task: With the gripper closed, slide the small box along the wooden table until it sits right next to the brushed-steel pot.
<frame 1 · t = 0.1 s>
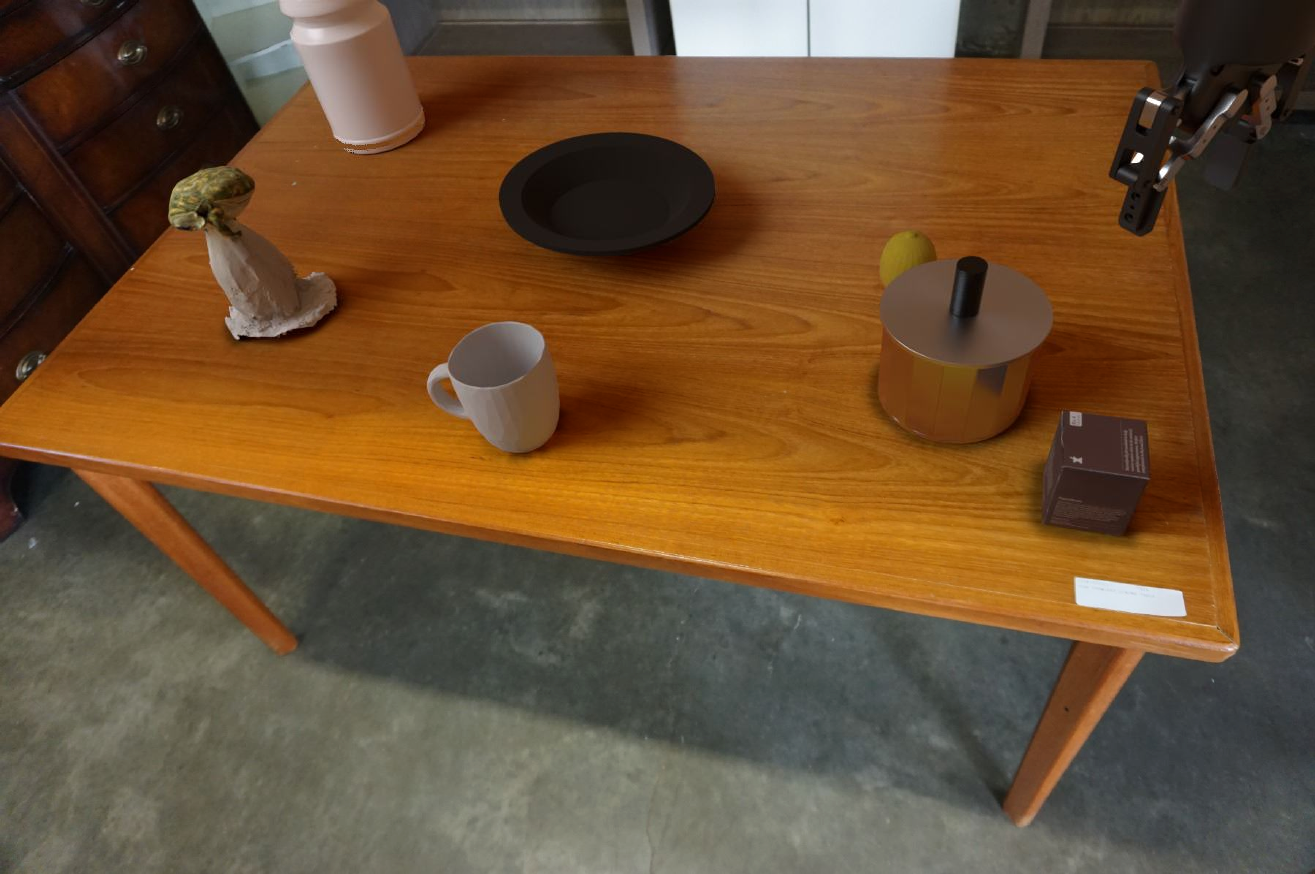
hand: (1177, 206, 59), 21 cm above the table, tool pointing down, fingers open, 8 cm apart
pot lid: (963, 312, 70), point 9 cm above the table, touching pot
plate: (612, 228, 103), on the table
mushroom: (286, 312, 100), on the table
mug: (506, 429, 82), on the table
pot: (948, 392, 77), on the table
lemon: (904, 298, 87), on the table
bottle: (383, 133, 128), on the table
box: (1080, 503, 68), on the table
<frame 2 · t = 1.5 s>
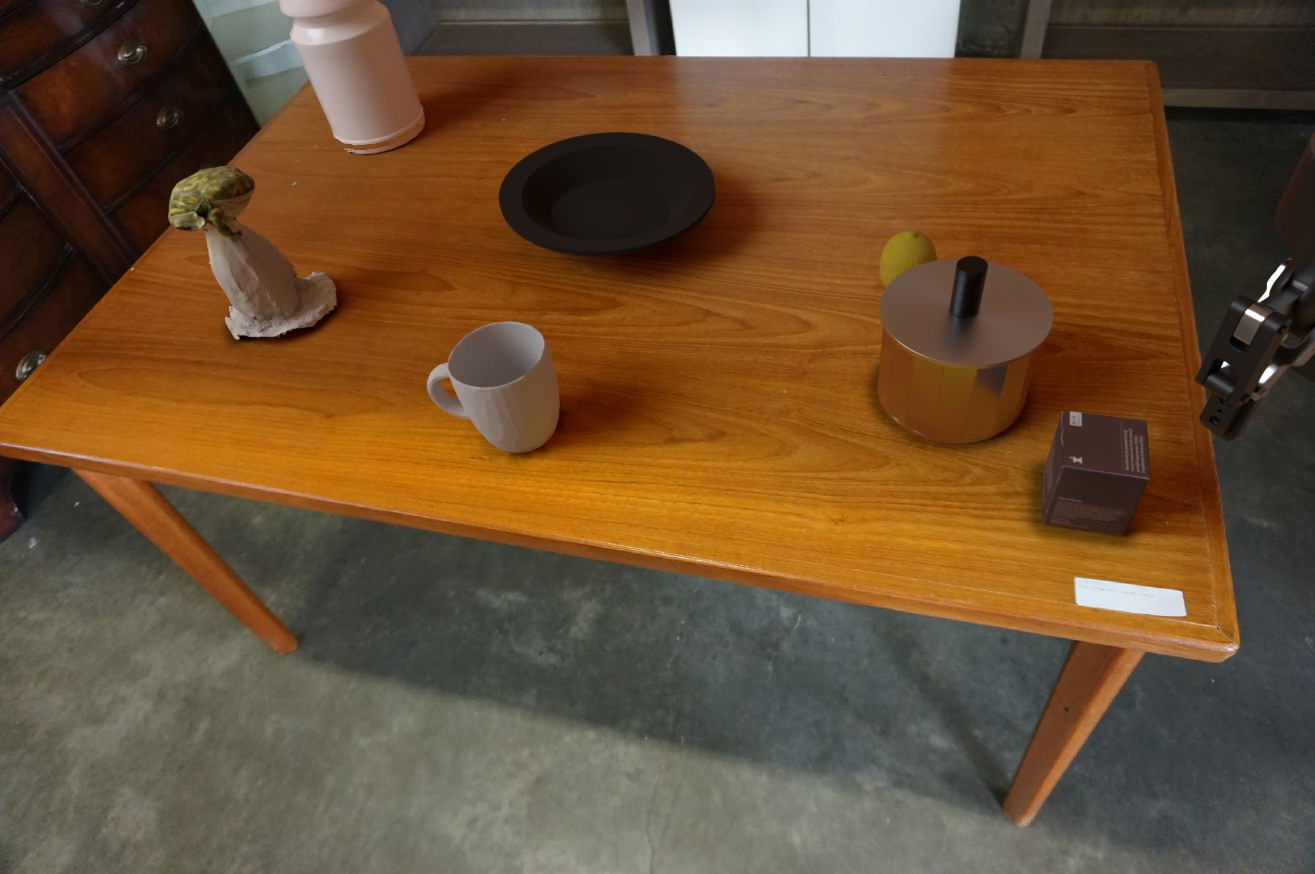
hand: (1263, 400, 50), 18 cm above the table, tool pointing down, fingers open, 7 cm apart
nothing on the table moved.
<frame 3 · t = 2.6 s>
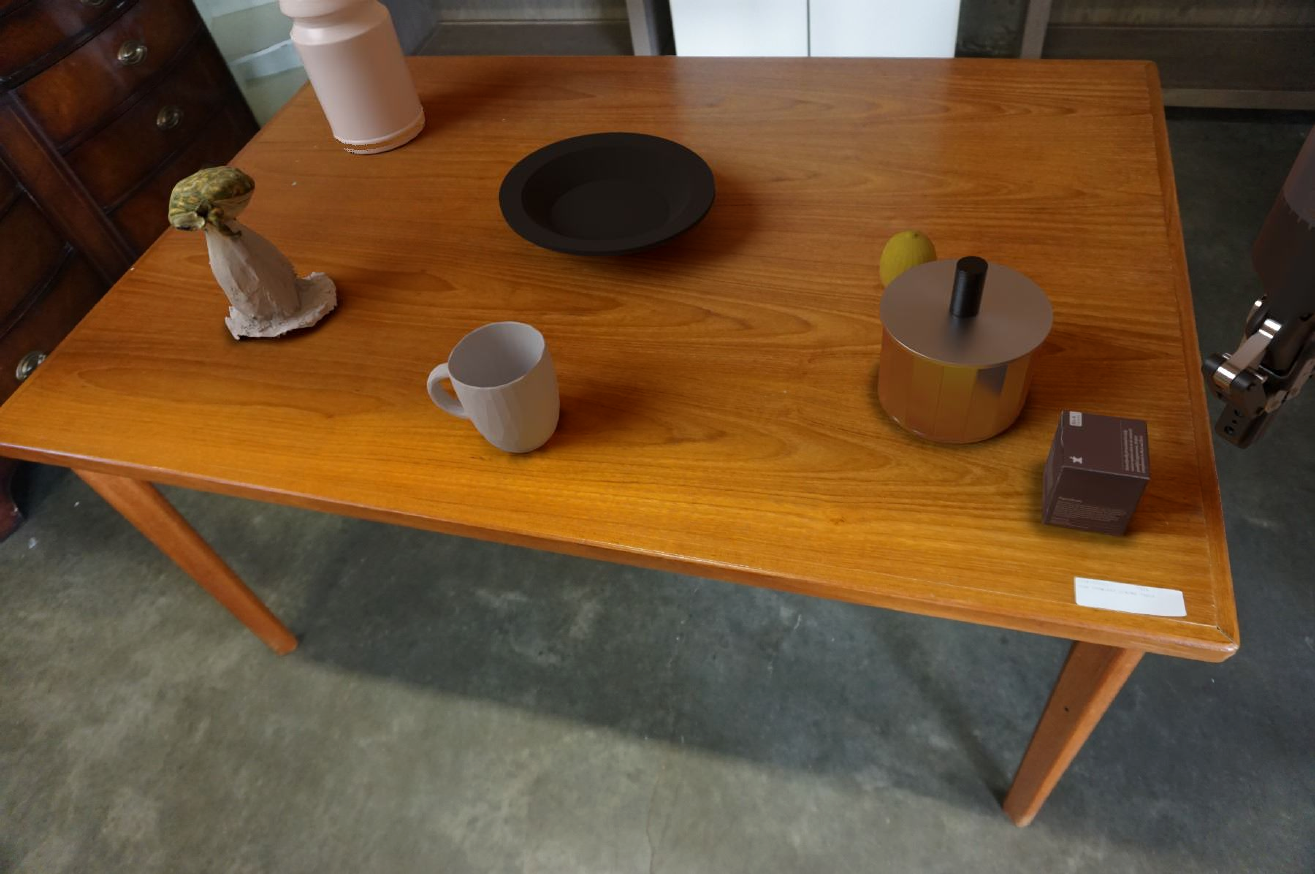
hand: (1236, 435, 52), 15 cm above the table, tool pointing down, fingers closed
nothing on the table moved.
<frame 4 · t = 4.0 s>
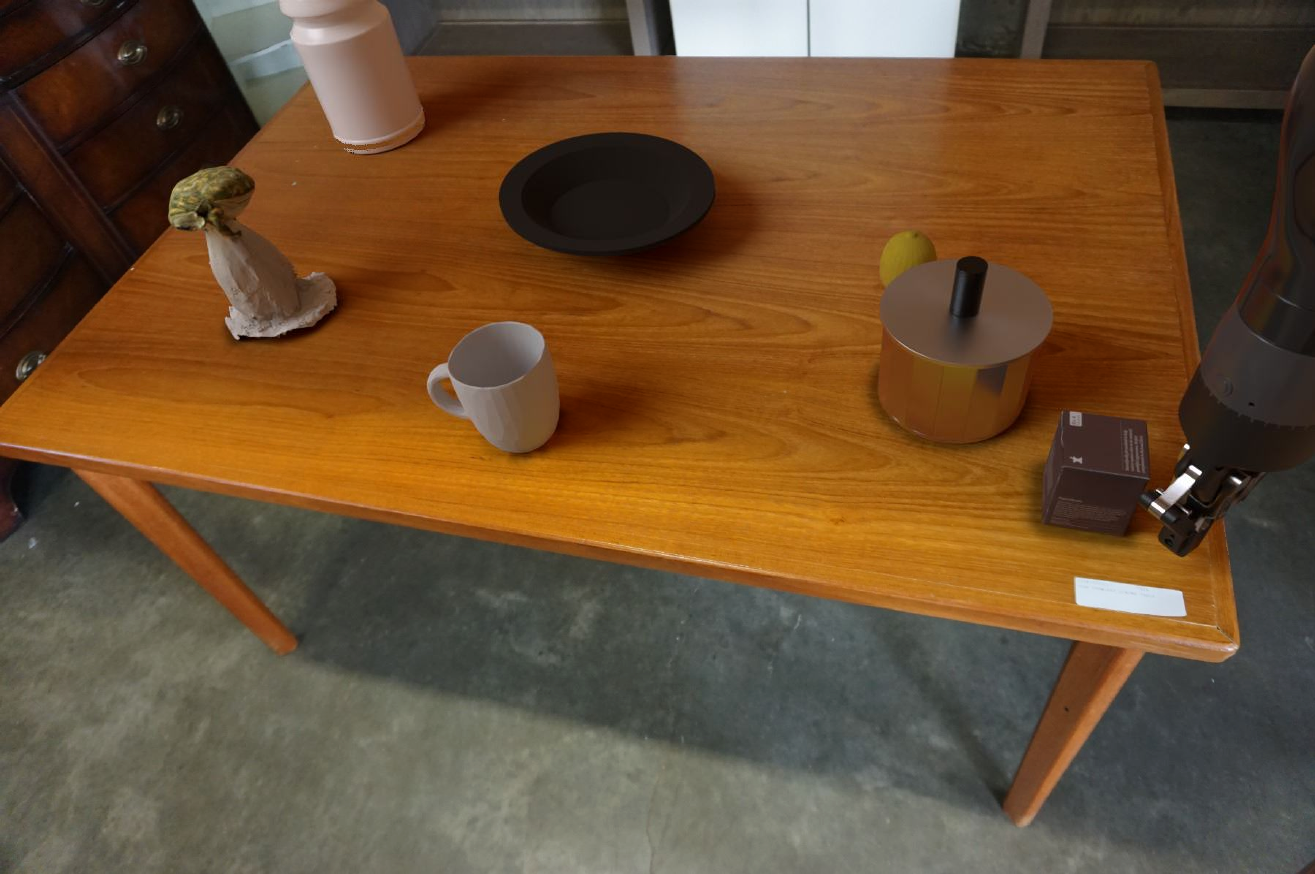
hand: (1176, 544, 61), 3 cm above the table, tool pointing down, fingers closed
nothing on the table moved.
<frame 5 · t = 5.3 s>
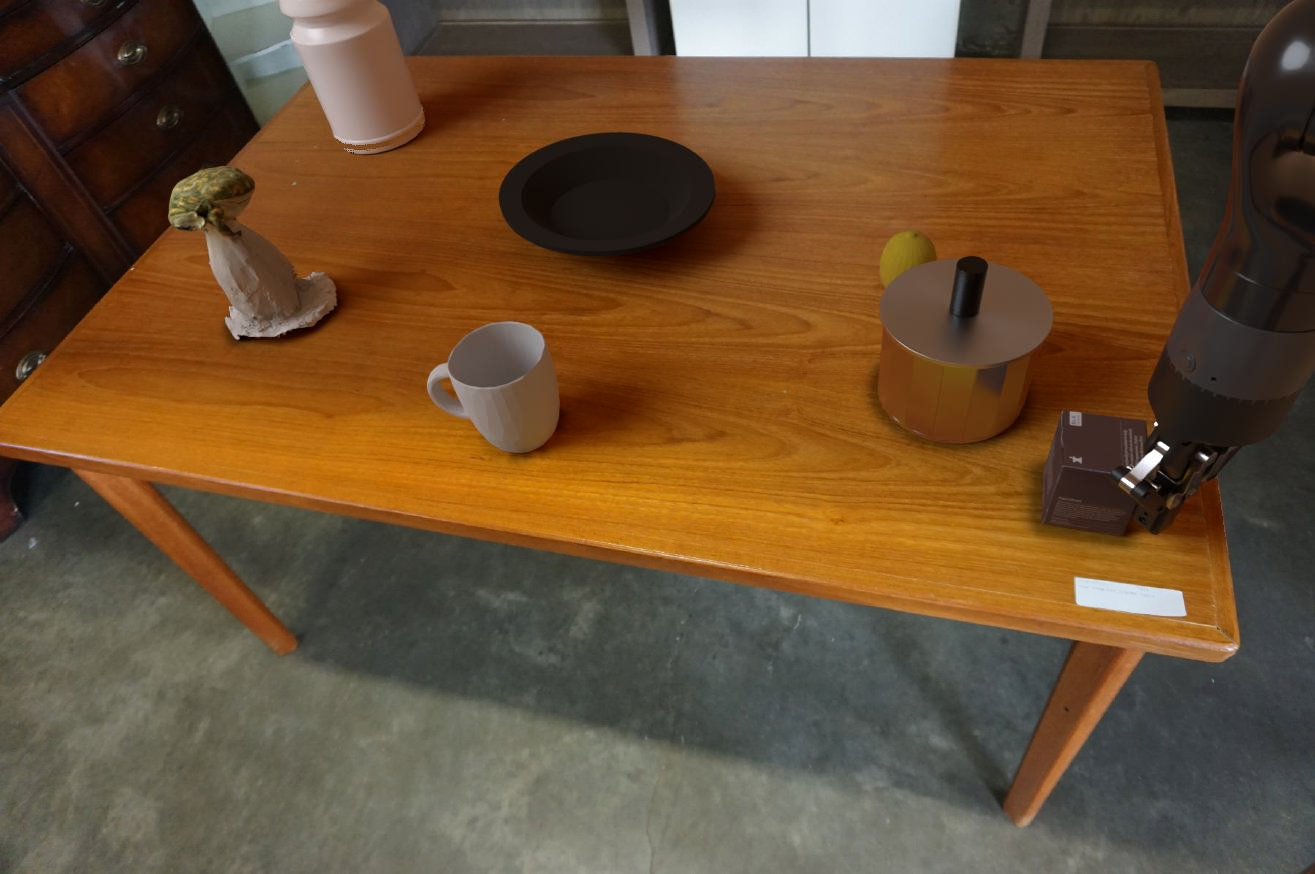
hand: (1150, 522, 63), 3 cm above the table, tool pointing down, fingers closed
box: (1080, 503, 68), on the table, touching gripper
everything else where it was.
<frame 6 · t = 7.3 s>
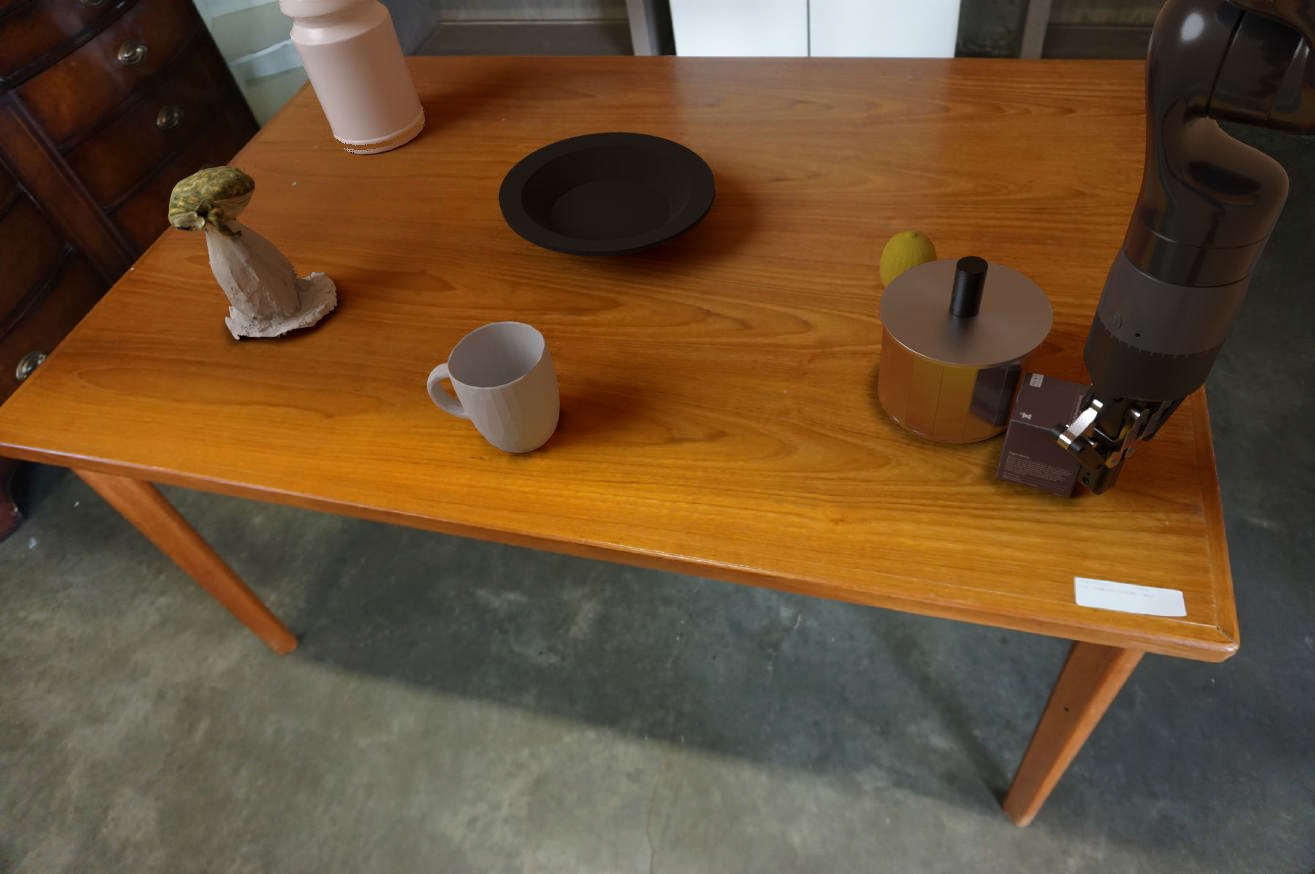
hand: (1094, 484, 66), 3 cm above the table, tool pointing down, fingers closed
box: (1038, 465, 71), on the table, touching gripper
everything else where it was.
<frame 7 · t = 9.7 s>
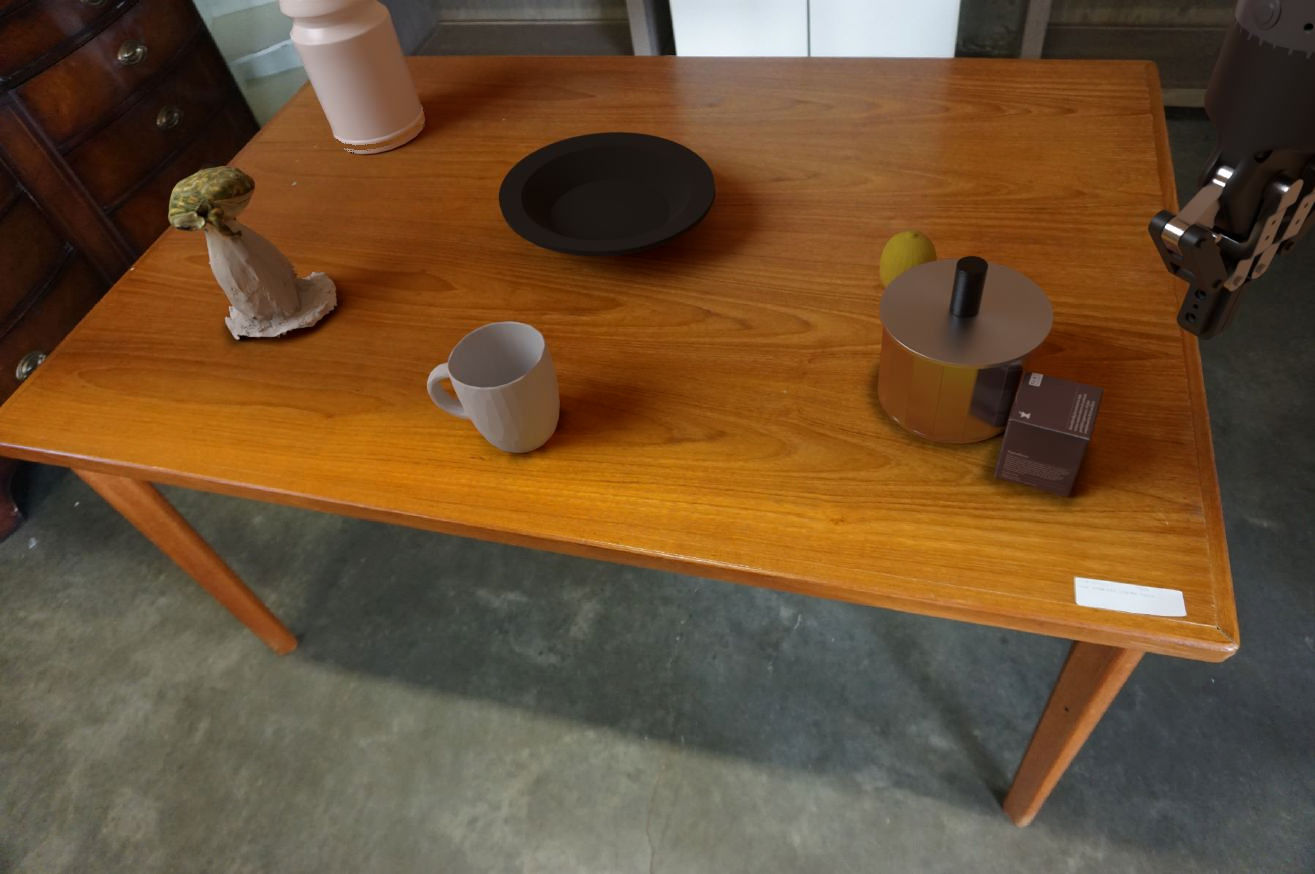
hand: (1200, 327, 47), 23 cm above the table, tool pointing down, fingers closed
box: (1037, 464, 71), on the table
everything else where it was.
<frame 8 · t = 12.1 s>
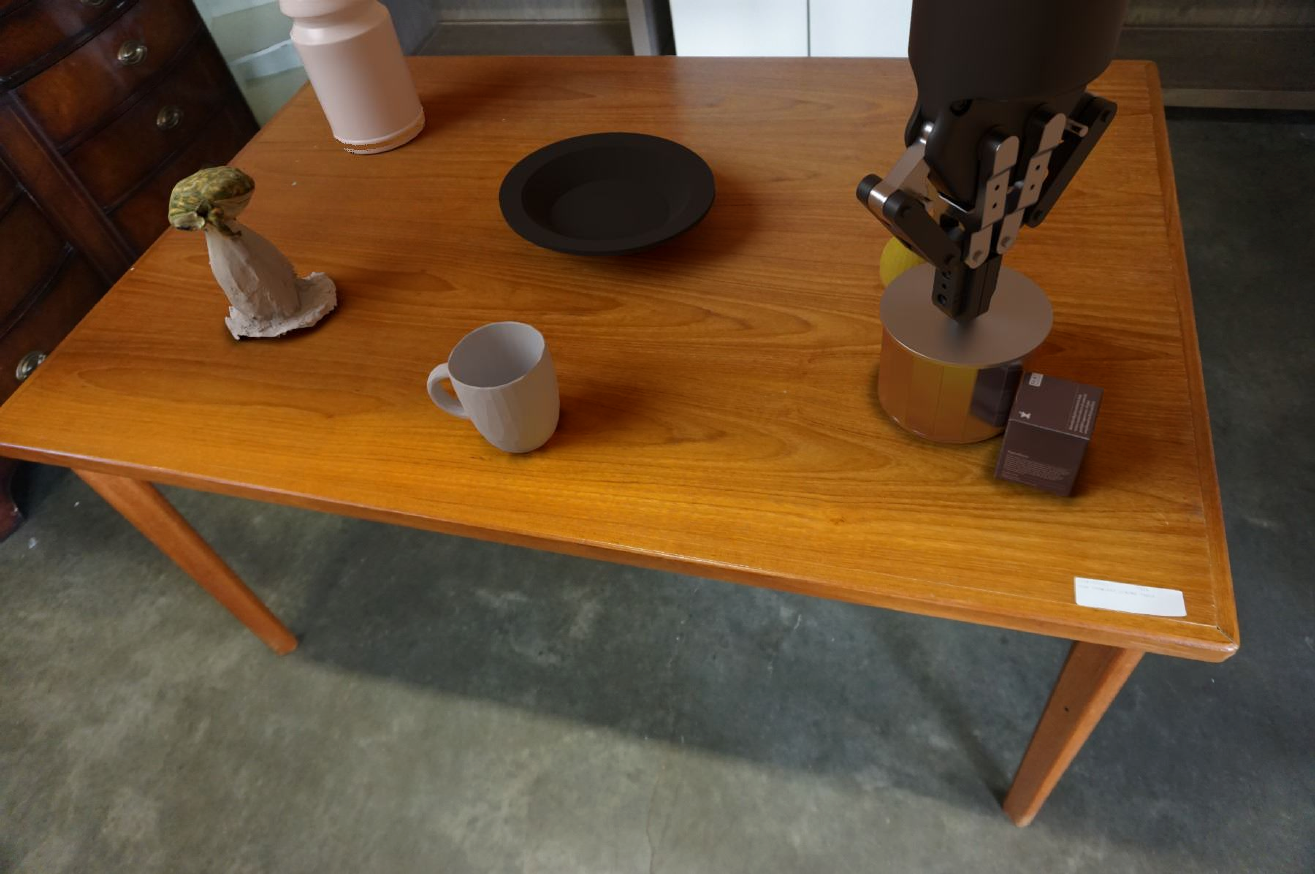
hand: (960, 310, 42), 29 cm above the table, tool pointing down, fingers closed
nothing on the table moved.
at the end: box 10.6 cm from the pot (horizontally); box moved 4.9 cm from its start; box tilted 0° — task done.
